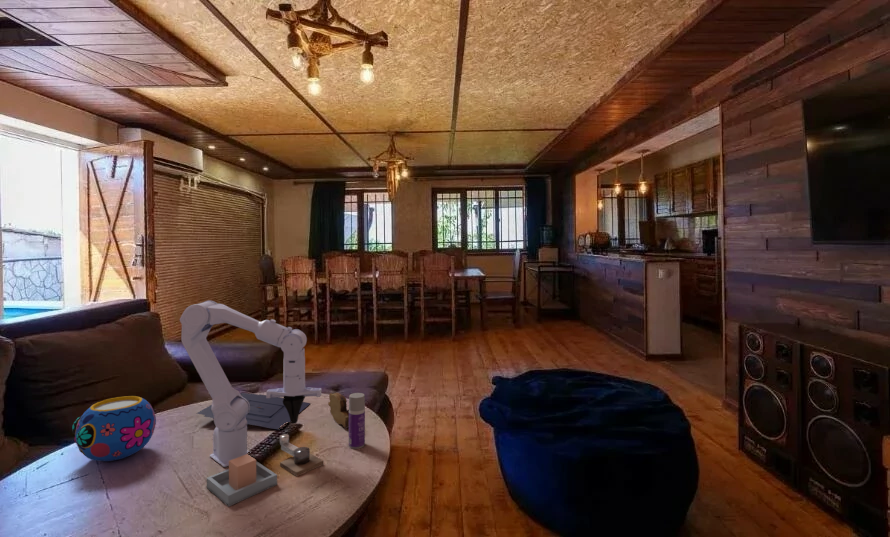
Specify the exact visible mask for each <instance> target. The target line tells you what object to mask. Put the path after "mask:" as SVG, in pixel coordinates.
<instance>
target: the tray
mask: <svg viewBox="0 0 890 537" xmlns="http://www.w3.org/2000/svg"><path fill="white" fill-rule="evenodd" d="M277 485H278V474H276V473H275V472H274V471H272V470H270V469H269V468H267V467H266V466H264V465H263V464H261V463H260V462H258V461H257V460H256V482H255V483H252V484H250V485H248V486H245V487H243V488H241V489H238V490H235V489H233V488H232V487H231V486H230V485H229V468H228V469H226V470H223V471H221V472H218V473H215V474H212V475H210V476H207V477H206V489H208V490H209V491H210V492H211V493H212V494H213V495H214V496H216V497H217V498H218V499H219V500H220V501H221V502H222V503H223V504H225V505H226V506H227V507H230V506H233V505H235V504H237V503H240V502H242V501H244V500H246V499H249V498H251V497H253V496H255V495H258V494H260V493H263V492H264V491H266V490H268V489H271V488H273V487H275V486H277Z"/></svg>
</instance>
